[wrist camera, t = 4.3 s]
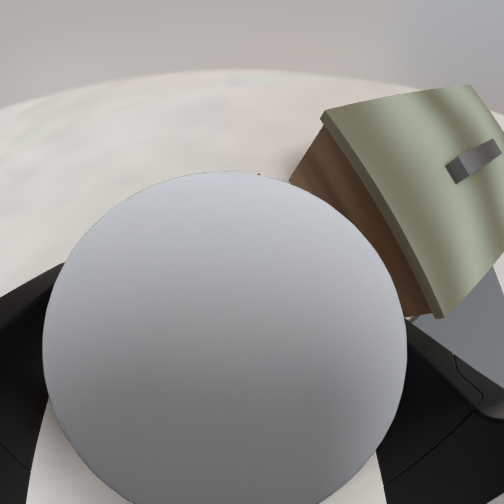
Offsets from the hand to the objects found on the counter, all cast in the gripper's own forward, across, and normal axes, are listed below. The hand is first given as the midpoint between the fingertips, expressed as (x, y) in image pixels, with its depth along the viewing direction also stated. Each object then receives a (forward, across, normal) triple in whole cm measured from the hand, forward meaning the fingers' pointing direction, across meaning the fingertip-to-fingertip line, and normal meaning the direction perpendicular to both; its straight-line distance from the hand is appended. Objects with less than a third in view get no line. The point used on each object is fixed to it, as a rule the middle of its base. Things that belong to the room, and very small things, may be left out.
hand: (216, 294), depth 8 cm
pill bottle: (+4, 0, +6) cm, 7 cm away
